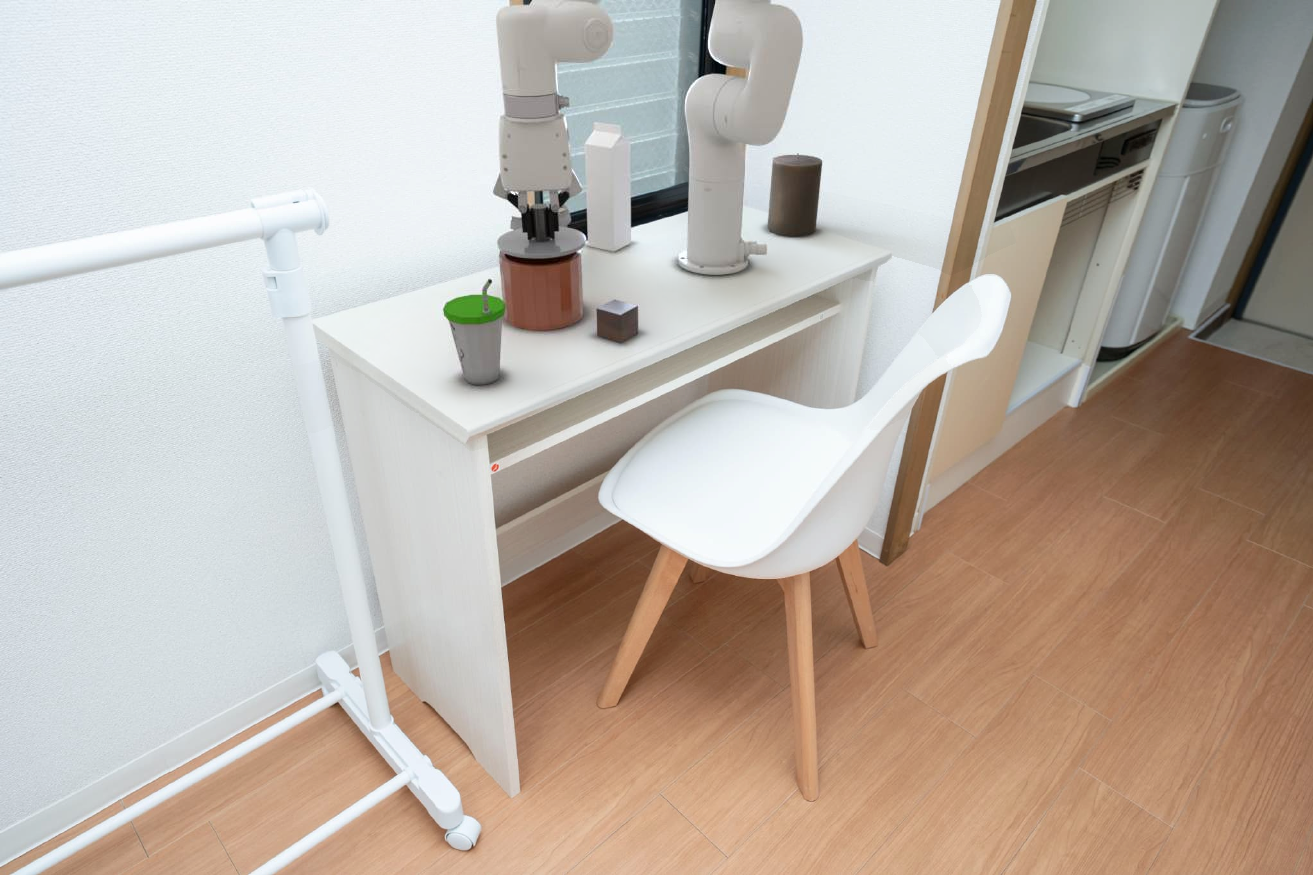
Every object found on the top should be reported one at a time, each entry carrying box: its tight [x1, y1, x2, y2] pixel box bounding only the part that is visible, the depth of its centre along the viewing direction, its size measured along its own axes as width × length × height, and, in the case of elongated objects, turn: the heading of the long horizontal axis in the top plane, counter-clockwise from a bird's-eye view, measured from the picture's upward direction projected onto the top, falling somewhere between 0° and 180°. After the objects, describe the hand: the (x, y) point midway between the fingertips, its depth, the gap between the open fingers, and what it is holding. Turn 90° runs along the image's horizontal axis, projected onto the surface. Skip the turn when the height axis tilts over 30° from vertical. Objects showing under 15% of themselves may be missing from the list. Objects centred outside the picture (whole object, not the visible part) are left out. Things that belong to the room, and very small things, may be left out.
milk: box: [584, 121, 632, 252], centre depth 156 cm, size 6×6×22 cm
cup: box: [442, 278, 506, 386], centre depth 110 cm, size 8×8×15 cm
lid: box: [496, 203, 587, 258], centre depth 125 cm, size 13×13×6 cm
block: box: [596, 299, 639, 344], centre depth 125 cm, size 4×4×4 cm
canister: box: [498, 249, 584, 331], centre depth 130 cm, size 12×12×10 cm
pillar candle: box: [767, 152, 823, 237], centre depth 167 cm, size 10×10×15 cm
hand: (541, 235), depth 126 cm, fingers closed on lid, 2 cm apart
